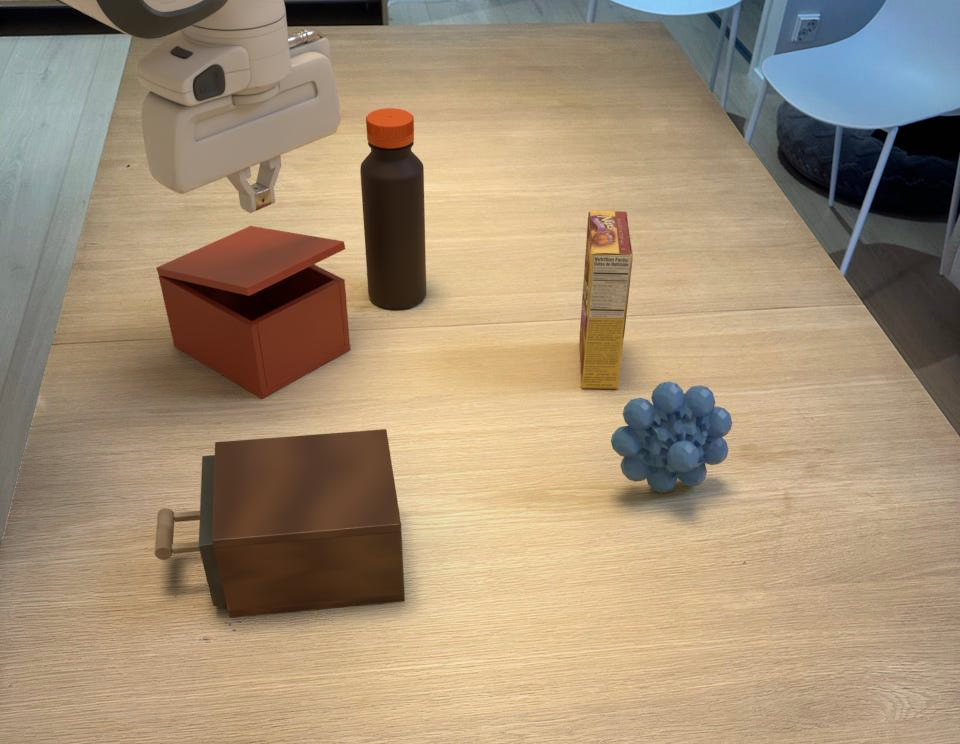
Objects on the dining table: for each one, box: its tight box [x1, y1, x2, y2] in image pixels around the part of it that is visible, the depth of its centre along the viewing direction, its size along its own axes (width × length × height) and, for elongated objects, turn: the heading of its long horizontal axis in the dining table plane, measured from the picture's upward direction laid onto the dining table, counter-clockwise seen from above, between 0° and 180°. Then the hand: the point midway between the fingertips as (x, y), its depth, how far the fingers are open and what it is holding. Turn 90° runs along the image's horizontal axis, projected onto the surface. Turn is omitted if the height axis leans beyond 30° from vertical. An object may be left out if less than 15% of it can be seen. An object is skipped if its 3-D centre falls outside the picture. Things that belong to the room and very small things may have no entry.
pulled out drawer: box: [154, 454, 227, 607], centre depth 89 cm, size 18×11×7 cm, turn 99°
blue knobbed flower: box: [610, 381, 733, 494], centre depth 95 cm, size 12×7×12 cm, turn 103°
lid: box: [155, 225, 346, 296], centre depth 107 cm, size 15×13×1 cm
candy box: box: [578, 210, 634, 390], centre depth 108 cm, size 9×4×15 cm, turn 178°
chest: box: [158, 264, 351, 399], centre depth 112 cm, size 15×13×8 cm
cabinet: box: [212, 428, 406, 618], centre depth 89 cm, size 15×13×9 cm
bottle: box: [359, 107, 427, 310], centre depth 116 cm, size 7×7×20 cm
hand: (258, 206), depth 102 cm, fingers closed
